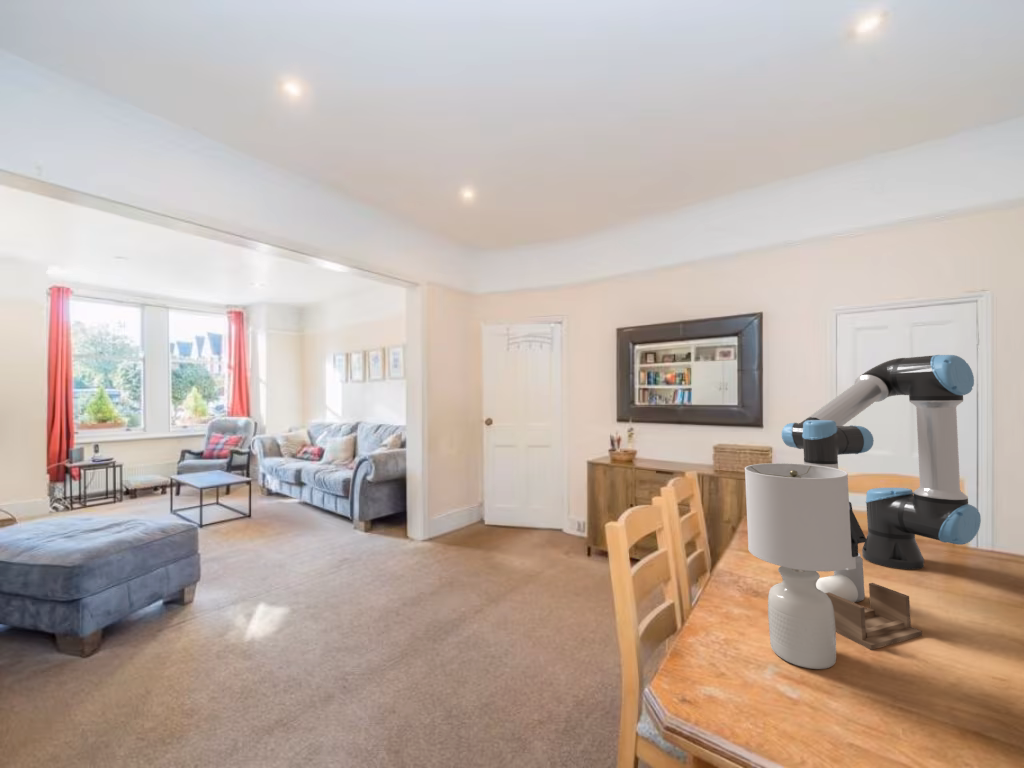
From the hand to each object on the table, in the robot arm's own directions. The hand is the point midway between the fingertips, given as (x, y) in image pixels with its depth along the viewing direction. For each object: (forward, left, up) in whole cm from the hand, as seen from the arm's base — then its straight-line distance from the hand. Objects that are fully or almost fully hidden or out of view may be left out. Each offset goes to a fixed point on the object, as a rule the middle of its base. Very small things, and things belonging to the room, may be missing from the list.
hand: (824, 559), depth 119 cm
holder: (+4, +13, -11) cm, 18 cm away
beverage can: (-8, 0, -11) cm, 14 cm away
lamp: (+26, +15, -11) cm, 32 cm away
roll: (0, 0, -11) cm, 11 cm away
